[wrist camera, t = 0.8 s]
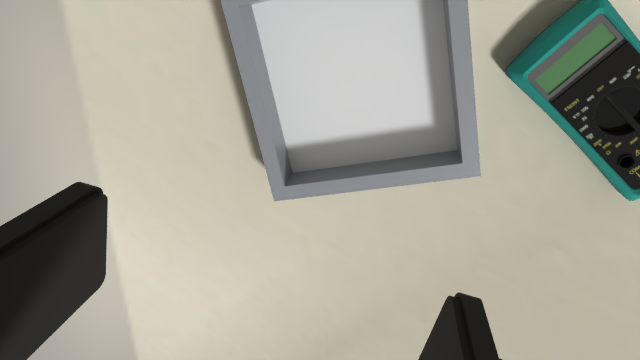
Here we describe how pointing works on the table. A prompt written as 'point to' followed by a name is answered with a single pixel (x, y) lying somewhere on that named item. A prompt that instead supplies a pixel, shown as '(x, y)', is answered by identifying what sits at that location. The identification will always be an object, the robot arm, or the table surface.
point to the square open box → (357, 91)
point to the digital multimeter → (590, 87)
